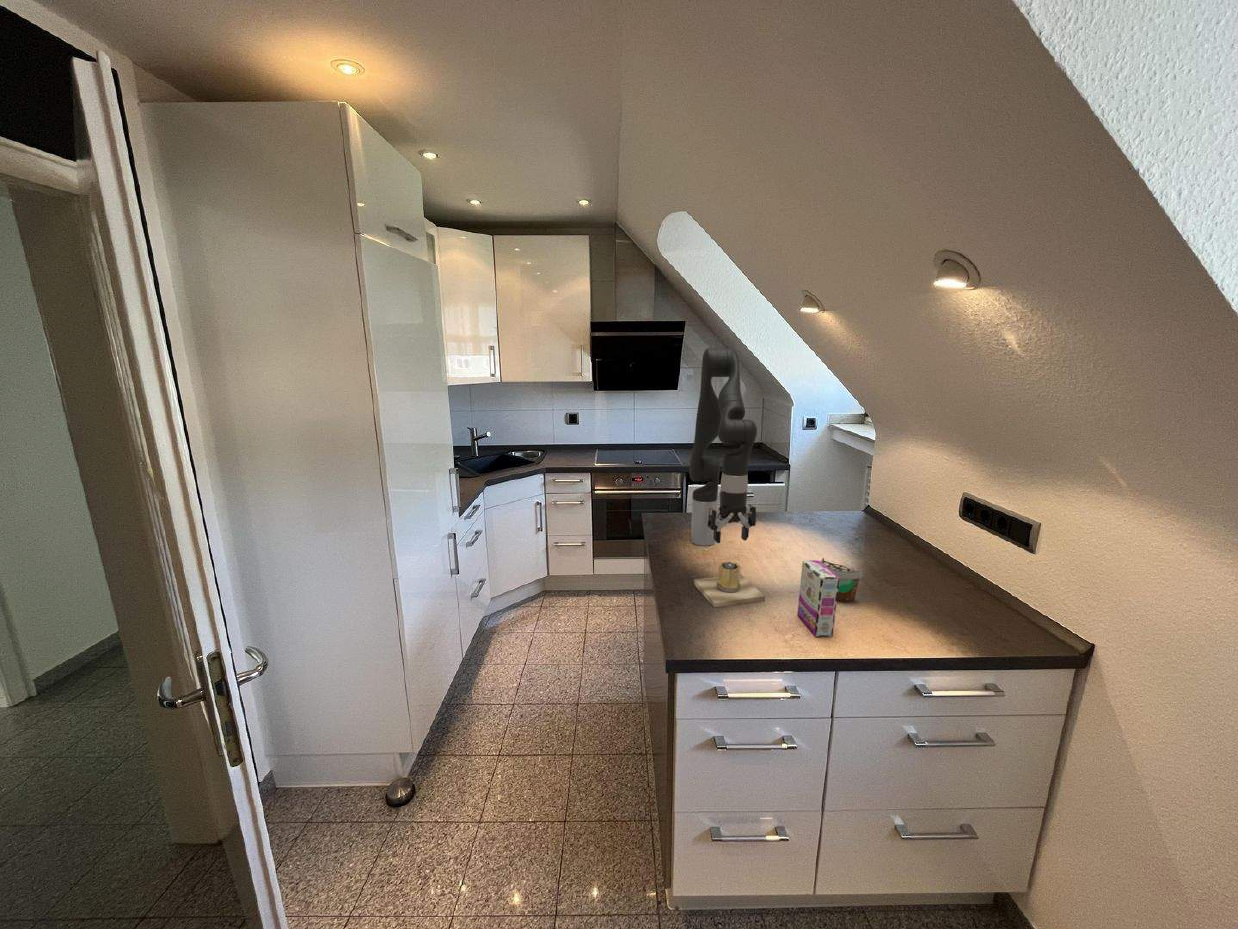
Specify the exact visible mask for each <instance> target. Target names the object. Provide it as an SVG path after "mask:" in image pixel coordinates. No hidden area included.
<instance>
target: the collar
mask: <svg viewBox="0 0 1238 929" xmlns="http://www.w3.org/2000/svg"><path fill="white" fill-rule="evenodd" d="M728 562H729V561H722V562H720V563H719V564H718V575H717V577H718V584H719V585H720V587H722V588H725V589H737V588H738V587H739V586H740V574H741V572H742V571H741V566H740V564H738V563H737V562H734V561H733V562H731V561H730V562H731V563H733V564H734V566H735V569H726V568H724V565H725V564H726V563H728Z"/></svg>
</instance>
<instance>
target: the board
mask: <svg viewBox="0 0 1238 929" xmlns="http://www.w3.org/2000/svg"><path fill="white" fill-rule="evenodd" d="M717 582H718V576H714V577H706V578H697V579H696V578H695V579H693V585H694V586H695V587H696V589H697V590H699V592H700V593H701V594H702V595H703V596H704V597H705V599H706V600H707V601H708V602H709V604H711V606H712V607H713V608H720V607H728V606H729V607H730V606H736V605H745V604H751V603H753V604H754V603H760V602H765V601H766V595H764V594H763V593H762V592H761V591H760V590H759V589H758V588H756V587H755V585H753V584H752V583H751V582H750V581H749V579H747V578H745V576H743V575H742V574H741V573H740V591H738V592H736V593H725V592H722V591H720V590H718V589H717Z"/></svg>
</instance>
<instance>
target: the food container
mask: <svg viewBox="0 0 1238 929" xmlns="http://www.w3.org/2000/svg"><path fill="white" fill-rule="evenodd" d="M820 562H821V563H822V564H824V565H825V566H826V567H827V568H828V569H830V570H831V571H832V572H833V573H834V574H835V575H837V576H838V577H839V578H840V579H839V586H838V595H837V602H839V603H851V602H853V601H855V598H856V595H857V591H858V587H859V582H860V579H861V578H863V572H862V569H860V570H854V569H851V568H848V567H847V566H844V565H842V564H836V563H832V562H829V561H827V560H825V557H823V558H821V560H820Z"/></svg>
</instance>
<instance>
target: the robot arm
mask: <svg viewBox="0 0 1238 929" xmlns="http://www.w3.org/2000/svg"><path fill="white" fill-rule="evenodd" d="M739 361H740V360H739V355H738V352H737V350H736V349H735V348H729V347H708V348H706V349H705V350H704V352H703V354H702V361H701V375H700V390H699V398H698V406H697V410H696V411H697V413H696V418H695V431H694V439H693V440H694V442H693V446H692V452H691V457H690V462H689V469H688V471H689V479H690V480H691V481H692V482H696V483H699V482H701V483H703V482H704V483H705V482H707V483H705V485H703V486H701V487H698V488H695V489H694V490H693V492H692V495H691V496H692V498H691V499H692V501H691V528H690V529H691V530H690V531H691V532H690V534H691V535H690V542H691V544H694V545H697V546H702V547H705V546H706V547H707V546H708V547H709V546H713V545H714V544H716V543H717V544H721V537H722V536H721V535H722V532H721V530H722V529H723V528H724V527H725V526H726V524H733V523H739V522H740V524H741V525H742V526H741V536H740V538H741V539H742V540H743V541H744V542H745V541H747V540H748V538H749V536H750V535H749V534H750V528H751V527H755V526H756V525H757V523H756V522H757V520H756V519H757V508H756V507H755V506H754V505H752V504H748V505H747V500H748V499H747V497H748V487H749V486H748V484H749V480H748V479H749V478H748V469H749V460H750V455H751V452H752V450H753V446H754V444H755V441H756V438H757V434H758V428H757V425H756V423H755V421H754V420H752V419H745V415H746V409H745V404H744V402H743V396H742V391H741V375H740V372H741V371H740V362H739ZM713 378H728V379H727V382H725V384H724V385H723V387H722V388H721V389H720V391H719V394H718V396H717V395H716V393H715V390H714V387H713V384H712V379H713ZM717 438H718V440H719V441H720V442H721V443H722V444H723V445H728V446H729V445H736V446H737V445H740V447H739V448H738V449H736V450H733V451H729V452H725V453H724V454H723V457H722V468H721V466H720V465H721V463H720V460H719V458H718V457H716V456H704V454H705V452H706V450H707V449H708V447H709V446H710V445H711V444H712V443H713V442H714V441H715V440H716V439H717ZM721 469H722V472H720V470H721ZM720 473H721V479H720ZM719 482H720V494H719V508H717V507H718V493H719ZM746 505H747V506H746ZM746 513H748V514H747V519H746V518H745V514H746ZM718 516H719V517H718Z"/></svg>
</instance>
